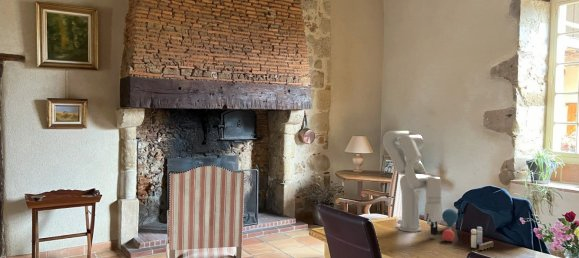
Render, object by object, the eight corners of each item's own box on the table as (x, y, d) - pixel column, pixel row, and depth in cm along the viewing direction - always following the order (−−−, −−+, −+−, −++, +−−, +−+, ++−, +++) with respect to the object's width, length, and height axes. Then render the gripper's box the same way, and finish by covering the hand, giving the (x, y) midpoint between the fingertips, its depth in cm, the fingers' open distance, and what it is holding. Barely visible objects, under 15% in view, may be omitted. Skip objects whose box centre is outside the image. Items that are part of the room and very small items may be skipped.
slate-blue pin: (476, 244, 225) (476, 227, 225) (478, 243, 226) (478, 226, 226) (480, 245, 223) (480, 228, 223) (483, 244, 224) (483, 227, 224)
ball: (440, 240, 231) (440, 229, 231) (446, 239, 235) (446, 227, 235) (450, 243, 226) (450, 231, 226) (457, 241, 230) (457, 229, 230)
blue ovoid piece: (459, 232, 249) (459, 210, 249) (443, 231, 250) (443, 210, 250) (456, 228, 257) (456, 207, 257) (441, 228, 259) (441, 207, 258)
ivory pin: (470, 247, 220) (470, 229, 220) (472, 246, 221) (472, 229, 221) (474, 248, 218) (474, 230, 218) (477, 247, 219) (477, 229, 219)
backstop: (478, 250, 214) (478, 245, 214) (491, 246, 221) (491, 241, 221) (481, 250, 213) (481, 245, 213) (493, 246, 220) (493, 241, 220)
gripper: (436, 197, 245) (436, 231, 245) (419, 200, 236) (419, 235, 236) (448, 199, 239) (448, 233, 239) (431, 202, 230) (431, 238, 230)
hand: (434, 234), depth 238 cm, fingers closed
